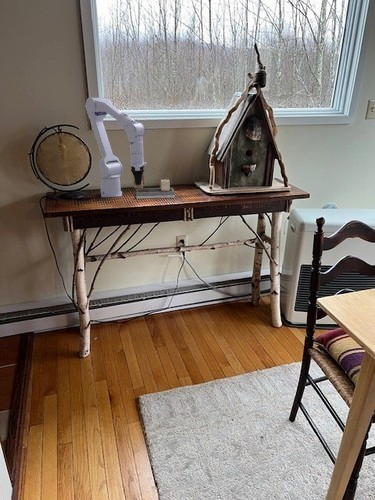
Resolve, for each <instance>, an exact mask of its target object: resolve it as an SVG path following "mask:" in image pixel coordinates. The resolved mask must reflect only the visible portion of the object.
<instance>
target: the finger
mask: <svg viewBox="0 0 375 500" xmlns="http://www.w3.org/2000/svg"><path fill="white" fill-rule="evenodd" d="M132 176H133V175H132ZM132 178H133V188H134V189H144V185H145V183H144V182H145V181H144V173H143V174H142V180H141V185H136V183H135V179H134V176H133V177H132Z"/></svg>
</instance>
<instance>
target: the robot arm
mask: <svg viewBox="0 0 375 500" xmlns="http://www.w3.org/2000/svg"><path fill="white" fill-rule="evenodd" d="M85 109H86V114H87V116H88V119H89V121H90V124H91V128H92V131H93V134H94V138H95V140H96V143H97V146H98V149H99V152H100V155H101V159H100V160H99V162H98V166H99V173H100V175H101V177H99V178H100V179H99V187H100V195H101V197H100V198H120V197H122V196H123V191H122V189H121V179H120V177H121V176H122V173H123V171H124V168H123V167H124V166H123V164H122V163H121V161H120V158H119V157H117V156H116V155H114V154H113V150H112V147H111V143H110V140H109V137H108V134H107V131H106V127H105V125H104V119H105V118H106V117H107V116H108V115H109V116H111V117H112V118H113V119H115V120H116V124H117V125H118V126H119V127H120V128H122V130H124V131H125V134H126V136H127V140H128V142H129V156H130V163H129V164H130V171H131V173H132V176H134V178H133V180H134V179H135V183H136V185H141V180H142V174H143V175H144V172H145V169H144V168H145V166H146V165H147V161H145V160H144V159H145V158H144V137H145V135H146V127H145V125H144V123H142V122H138V121H136V120H135V119H133V118H132V117H131V116H129V113H127V112H121V111H120V110H119V109H118V108H117V107H115V106H114V104H112V100H110V99H109V98H108V97H106V96H104V97H88V98H87V99H86V101H85ZM144 161H145V162H144Z"/></svg>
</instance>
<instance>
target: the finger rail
mask: <svg viewBox="0 0 375 500" xmlns="http://www.w3.org/2000/svg"><path fill="white" fill-rule="evenodd" d="M135 196H136V200H139V199H140V200H141V199H168V198H169V199H171V198H172V199H173V198H174V199H175V189H174V188H173V187H171V183H170V179H160V181H159V187H157V188H156V187H155V188H153V187H152V188H135Z"/></svg>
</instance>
